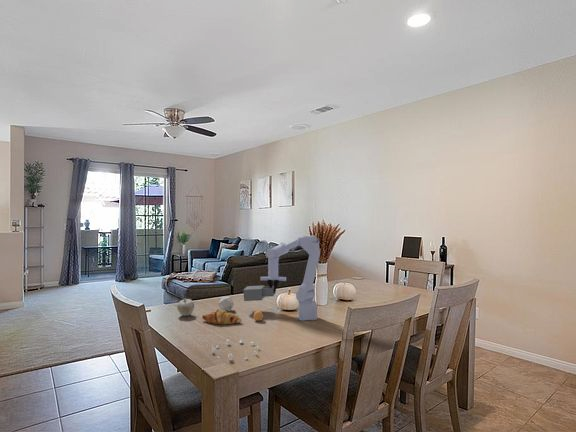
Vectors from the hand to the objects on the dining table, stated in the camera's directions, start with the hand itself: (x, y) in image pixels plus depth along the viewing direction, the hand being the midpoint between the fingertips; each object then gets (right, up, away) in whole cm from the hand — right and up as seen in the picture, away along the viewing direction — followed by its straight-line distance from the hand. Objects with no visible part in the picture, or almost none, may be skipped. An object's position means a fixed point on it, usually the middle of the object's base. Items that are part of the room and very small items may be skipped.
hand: (273, 293), depth 197 cm
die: (-27, -11, +2) cm, 29 cm away
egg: (-7, -8, -17) cm, 20 cm away
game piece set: (-13, -11, -57) cm, 60 cm away
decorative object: (-47, -11, -8) cm, 49 cm away
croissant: (-26, -11, -20) cm, 34 cm away
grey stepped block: (-8, -3, +1) cm, 8 cm away
